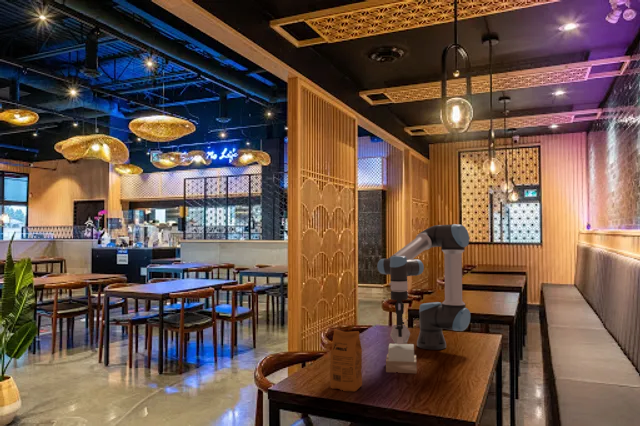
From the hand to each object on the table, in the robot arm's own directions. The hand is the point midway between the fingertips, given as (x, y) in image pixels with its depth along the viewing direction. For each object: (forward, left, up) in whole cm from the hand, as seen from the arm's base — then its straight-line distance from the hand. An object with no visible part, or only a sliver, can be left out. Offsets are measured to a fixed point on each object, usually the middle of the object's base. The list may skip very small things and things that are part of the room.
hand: (400, 341), depth 198 cm
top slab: (-1, 0, -7) cm, 7 cm away
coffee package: (+28, -21, -12) cm, 37 cm away
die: (0, 0, -1) cm, 1 cm away
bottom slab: (-1, 0, -12) cm, 12 cm away
